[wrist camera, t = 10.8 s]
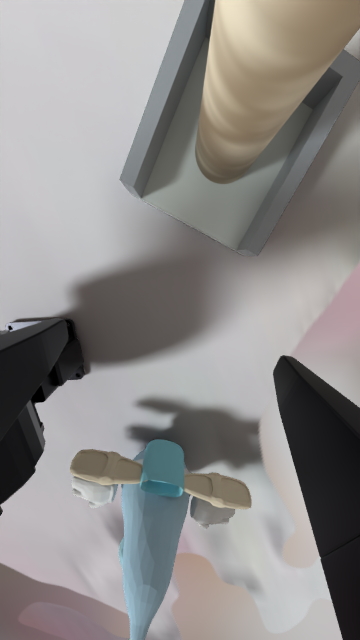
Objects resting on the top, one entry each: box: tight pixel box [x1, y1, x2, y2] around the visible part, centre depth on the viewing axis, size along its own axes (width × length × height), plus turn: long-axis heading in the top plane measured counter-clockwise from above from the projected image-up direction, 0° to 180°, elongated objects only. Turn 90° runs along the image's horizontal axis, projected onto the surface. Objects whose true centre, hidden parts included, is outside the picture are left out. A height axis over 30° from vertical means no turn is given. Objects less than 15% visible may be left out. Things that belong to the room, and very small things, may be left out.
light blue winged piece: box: [70, 439, 251, 640], centre depth 19 cm, size 17×10×15 cm, turn 75°
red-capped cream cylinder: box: [195, 0, 360, 184], centre depth 10 cm, size 5×5×13 cm
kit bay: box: [120, 0, 360, 256], centre depth 15 cm, size 11×12×4 cm
